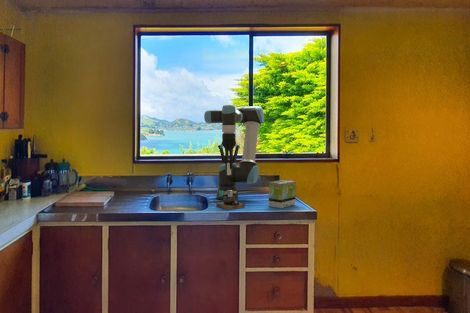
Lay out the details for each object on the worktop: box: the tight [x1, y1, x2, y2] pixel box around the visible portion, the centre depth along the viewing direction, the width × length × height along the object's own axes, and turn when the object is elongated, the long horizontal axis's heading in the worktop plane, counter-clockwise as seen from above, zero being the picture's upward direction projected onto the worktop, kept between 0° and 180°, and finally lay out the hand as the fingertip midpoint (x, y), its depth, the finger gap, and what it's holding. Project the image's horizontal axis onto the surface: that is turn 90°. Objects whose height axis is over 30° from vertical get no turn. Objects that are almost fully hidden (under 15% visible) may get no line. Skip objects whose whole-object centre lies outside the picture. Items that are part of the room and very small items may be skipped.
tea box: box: [268, 179, 297, 209], centre depth 210 cm, size 15×10×15 cm
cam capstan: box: [219, 190, 236, 205], centre depth 204 cm, size 12×7×8 cm, turn 142°
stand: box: [215, 200, 246, 211], centre depth 207 cm, size 12×12×4 cm
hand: (229, 174), depth 198 cm, fingers closed
